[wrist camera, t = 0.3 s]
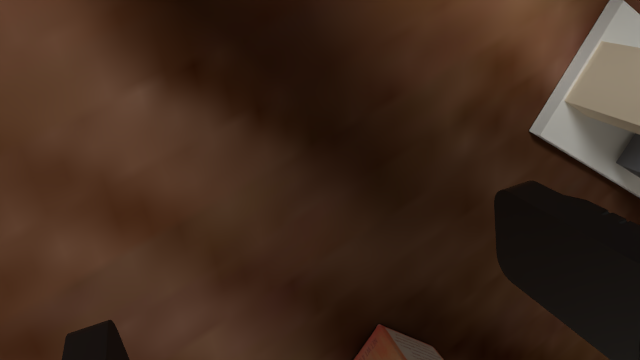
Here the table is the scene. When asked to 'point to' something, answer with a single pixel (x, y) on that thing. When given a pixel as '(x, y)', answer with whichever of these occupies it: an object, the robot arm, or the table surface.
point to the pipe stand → (599, 97)
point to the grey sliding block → (631, 156)
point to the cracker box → (395, 347)
